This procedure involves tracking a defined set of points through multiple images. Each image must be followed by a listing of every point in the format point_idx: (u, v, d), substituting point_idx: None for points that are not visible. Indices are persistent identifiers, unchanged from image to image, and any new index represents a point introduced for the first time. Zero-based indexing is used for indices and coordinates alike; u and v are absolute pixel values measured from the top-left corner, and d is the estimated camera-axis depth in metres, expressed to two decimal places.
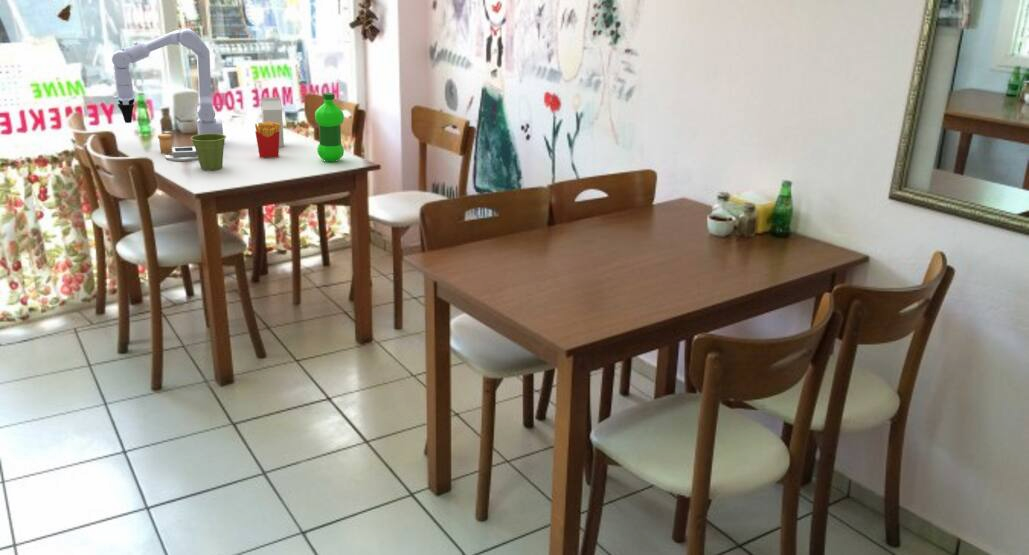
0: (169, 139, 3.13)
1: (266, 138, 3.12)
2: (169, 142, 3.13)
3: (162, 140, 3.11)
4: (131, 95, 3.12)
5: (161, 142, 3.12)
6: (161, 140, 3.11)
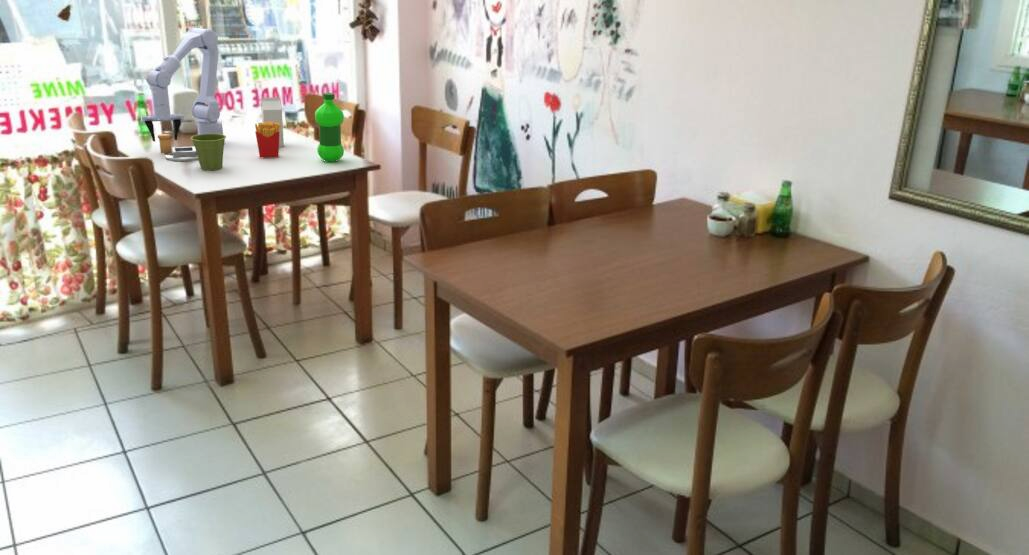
0: (169, 139, 3.13)
1: (266, 138, 3.12)
2: (169, 142, 3.13)
3: (162, 140, 3.11)
4: (157, 115, 3.07)
5: (161, 142, 3.12)
6: (161, 140, 3.11)
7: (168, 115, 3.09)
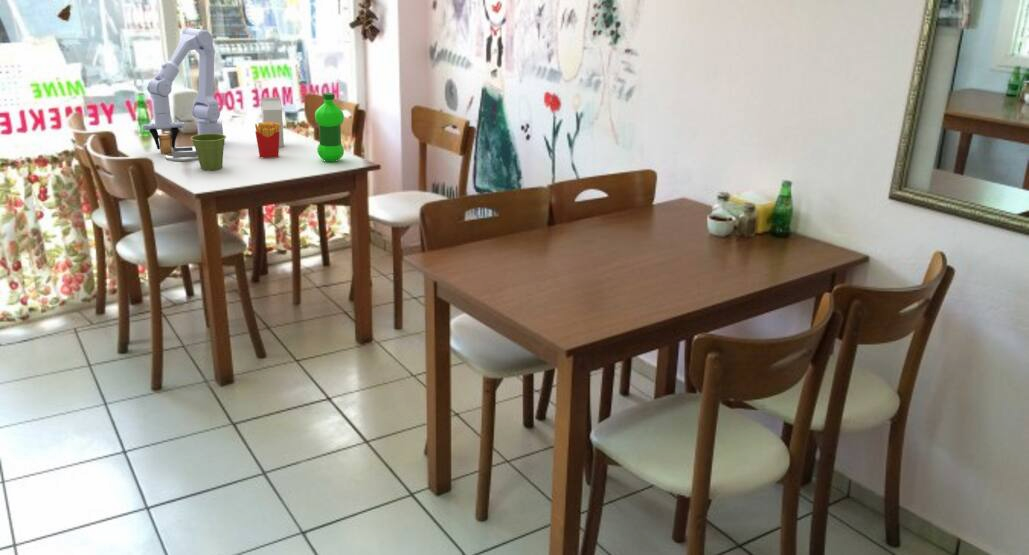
0: (169, 139, 3.13)
1: (266, 138, 3.12)
2: (169, 142, 3.13)
3: (162, 140, 3.11)
4: (158, 124, 3.08)
5: (161, 142, 3.12)
6: (161, 140, 3.11)
7: (169, 123, 3.10)
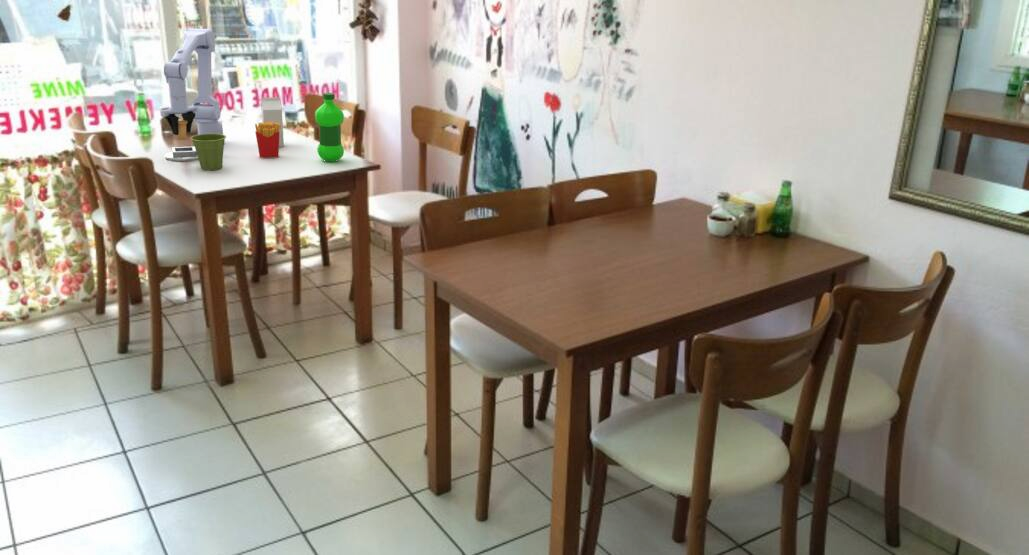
0: None
1: (266, 138, 3.12)
2: None
3: (180, 126, 3.03)
4: (178, 108, 3.00)
5: (179, 128, 3.04)
6: (179, 126, 3.03)
7: (187, 107, 3.03)
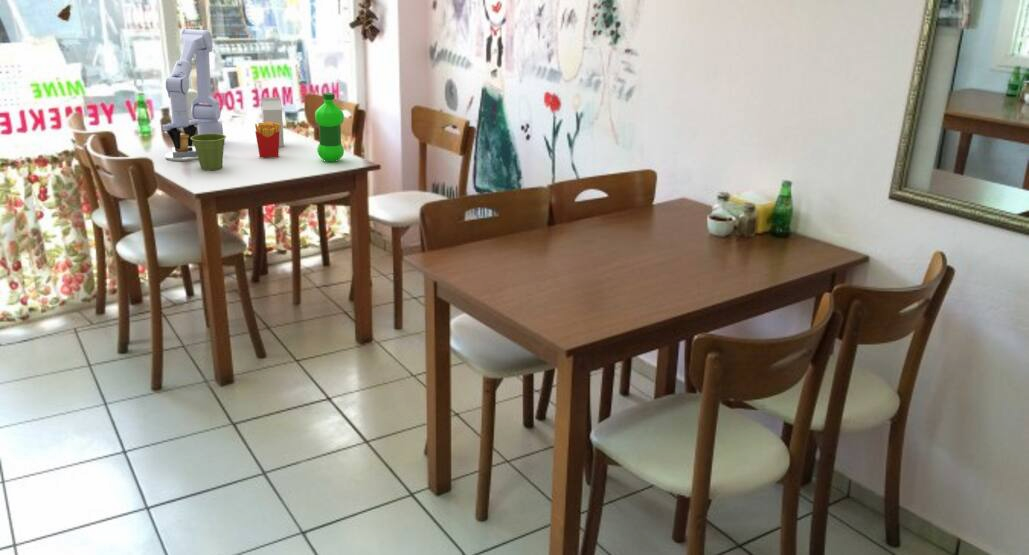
0: (187, 138, 3.07)
1: (266, 138, 3.12)
2: (187, 142, 3.08)
3: (182, 140, 3.05)
4: (180, 122, 3.02)
5: (181, 142, 3.05)
6: (181, 140, 3.05)
7: (189, 121, 3.05)
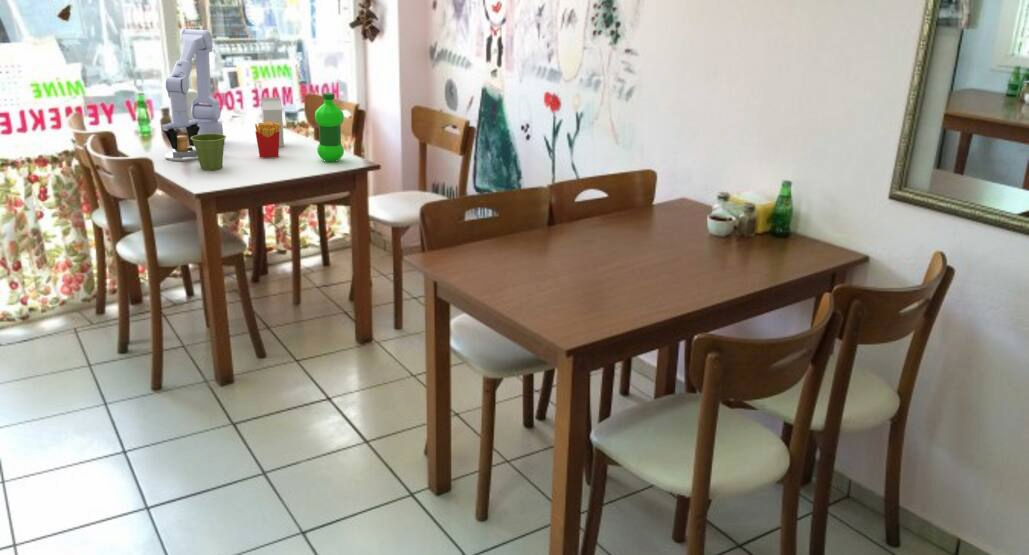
0: (186, 140, 3.08)
1: (266, 138, 3.12)
2: None
3: (181, 142, 3.06)
4: (180, 122, 3.02)
5: (180, 144, 3.06)
6: (180, 142, 3.05)
7: (189, 121, 3.05)
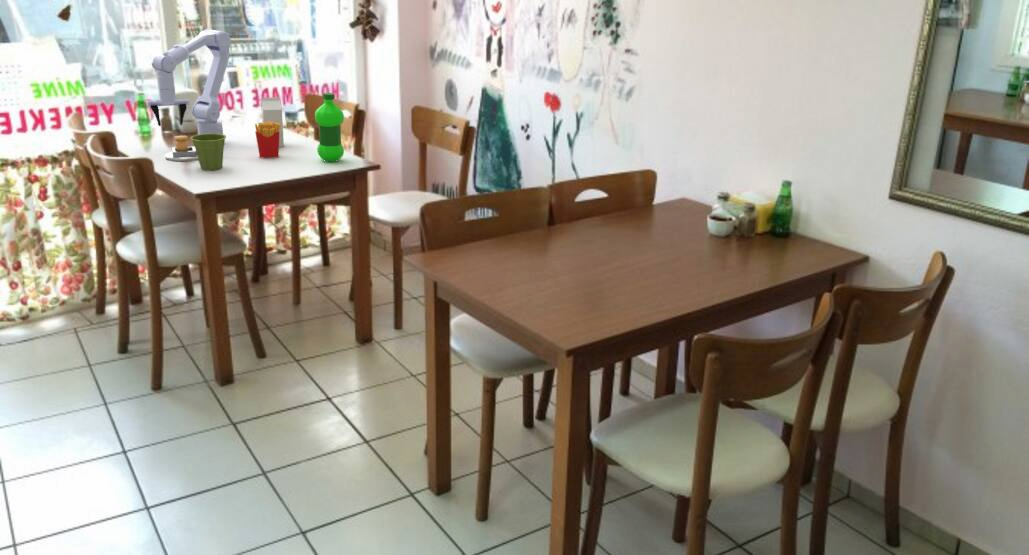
0: (186, 140, 3.08)
1: (266, 138, 3.12)
2: None
3: (181, 142, 3.06)
4: (163, 100, 3.08)
5: (180, 144, 3.06)
6: (180, 142, 3.05)
7: (173, 100, 3.10)
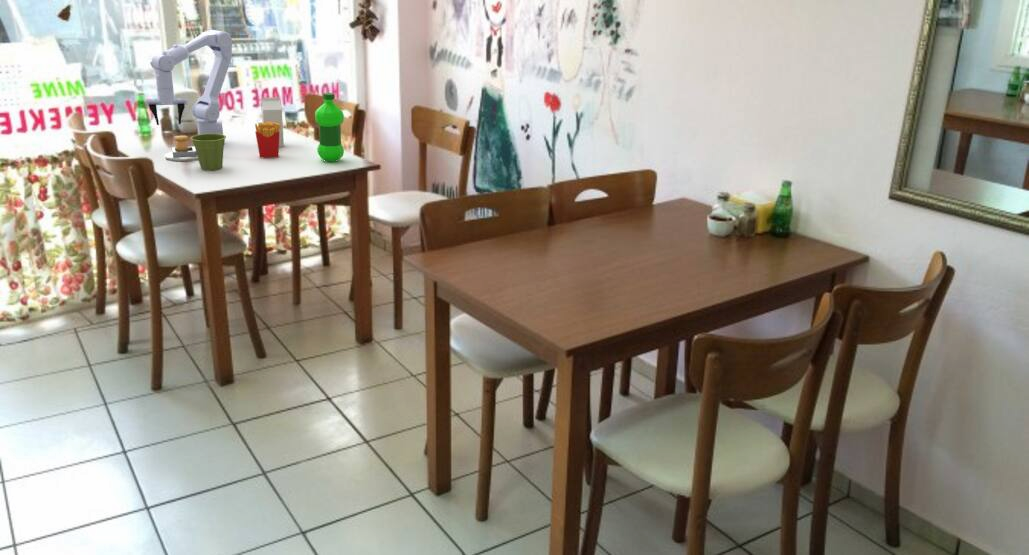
0: (186, 140, 3.08)
1: (266, 138, 3.12)
2: None
3: (181, 142, 3.06)
4: (161, 99, 3.09)
5: (180, 144, 3.06)
6: (180, 142, 3.05)
7: (171, 99, 3.11)
